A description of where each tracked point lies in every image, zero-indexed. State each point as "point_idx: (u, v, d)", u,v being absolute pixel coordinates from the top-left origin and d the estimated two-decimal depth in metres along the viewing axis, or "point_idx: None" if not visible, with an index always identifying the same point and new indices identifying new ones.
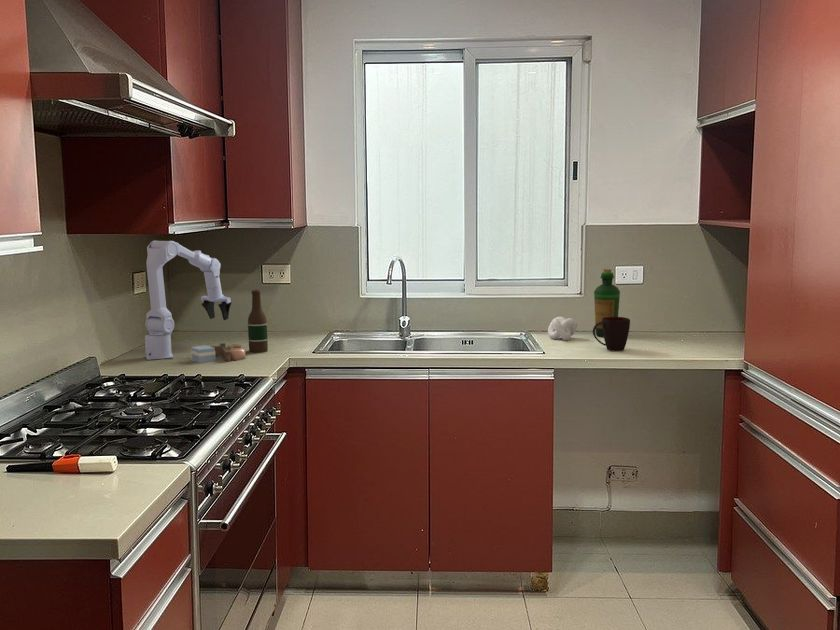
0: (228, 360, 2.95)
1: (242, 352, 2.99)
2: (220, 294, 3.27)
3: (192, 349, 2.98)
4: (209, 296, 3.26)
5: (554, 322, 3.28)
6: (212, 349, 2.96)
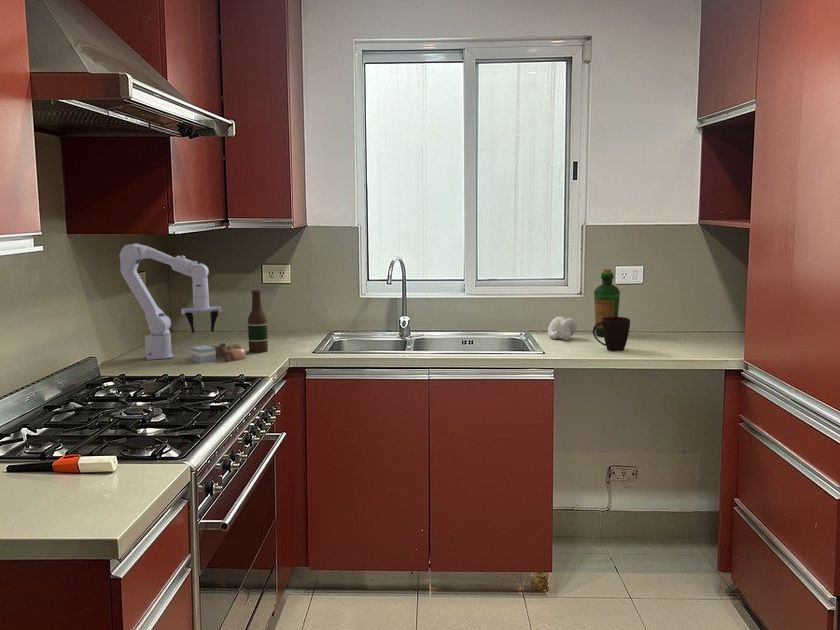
0: (228, 360, 2.95)
1: (242, 352, 2.99)
2: (193, 305, 3.02)
3: (192, 349, 2.98)
4: None
5: (554, 322, 3.28)
6: (212, 349, 2.96)
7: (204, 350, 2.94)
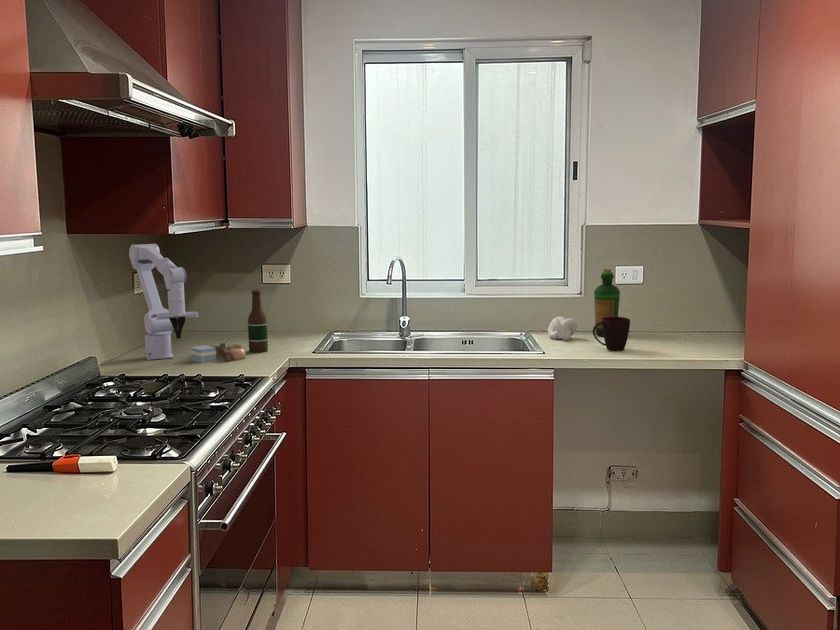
0: (228, 360, 2.95)
1: (242, 352, 2.99)
2: (168, 310, 2.91)
3: (192, 349, 2.98)
4: None
5: (554, 322, 3.28)
6: (213, 349, 2.96)
7: (205, 350, 2.94)
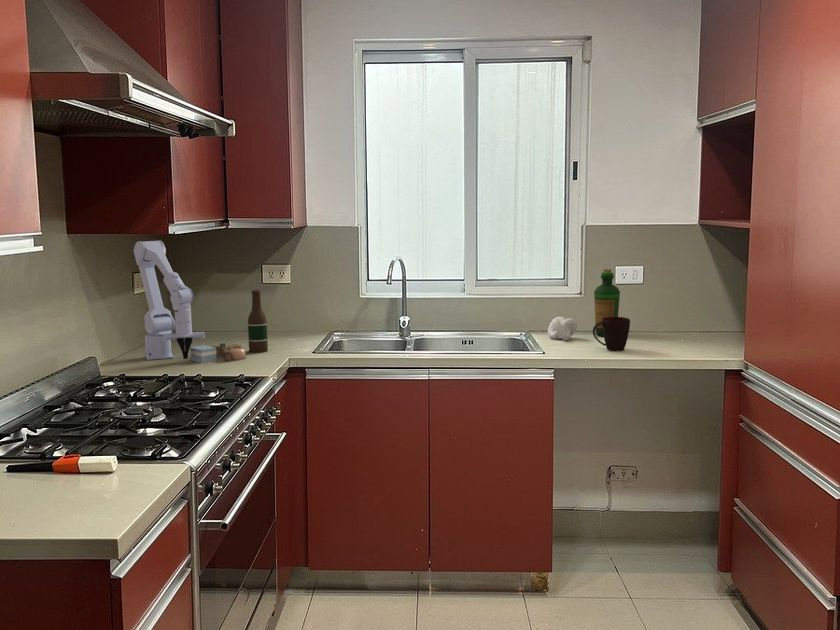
0: (228, 360, 2.95)
1: (242, 352, 2.99)
2: (176, 331, 2.93)
3: (191, 349, 2.97)
4: None
5: (554, 322, 3.28)
6: (213, 349, 2.96)
7: (205, 350, 2.94)
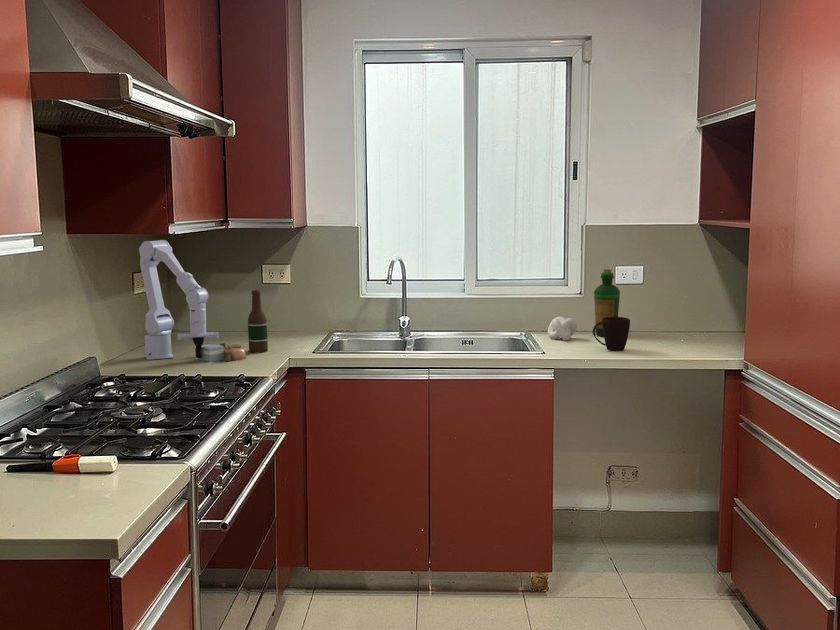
0: (228, 360, 2.95)
1: (242, 352, 2.99)
2: (190, 330, 2.95)
3: None
4: None
5: (554, 322, 3.28)
6: (221, 347, 2.98)
7: (213, 348, 2.96)
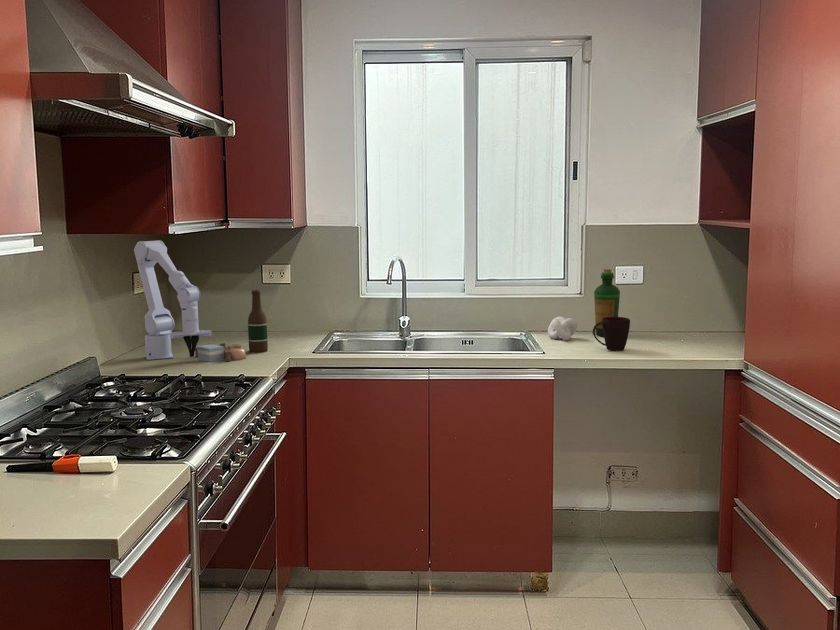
0: (228, 360, 2.95)
1: (242, 352, 2.99)
2: None
3: (199, 348, 2.99)
4: None
5: (554, 322, 3.28)
6: (221, 348, 2.98)
7: (213, 349, 2.96)
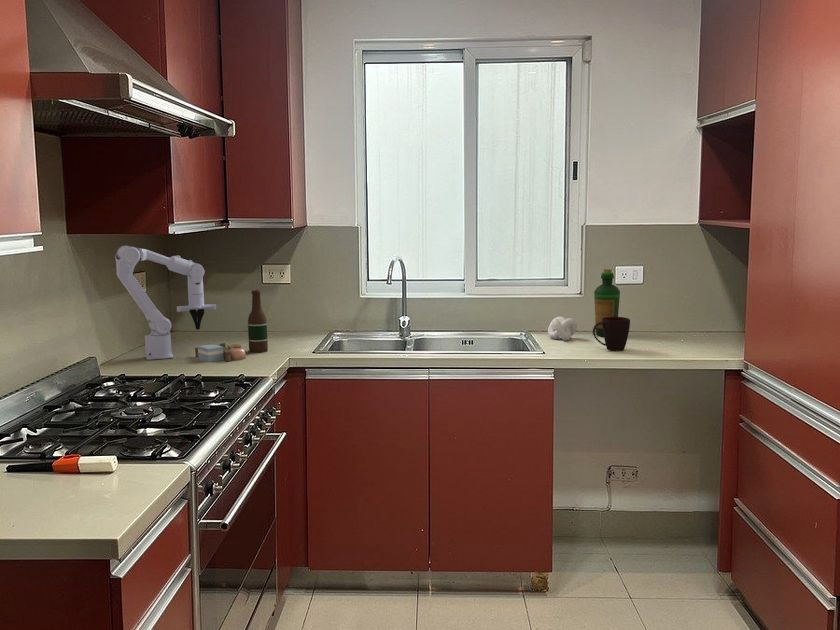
0: (228, 360, 2.95)
1: (242, 352, 2.99)
2: None
3: (199, 348, 3.00)
4: None
5: (554, 322, 3.28)
6: (220, 348, 2.98)
7: (212, 349, 2.96)
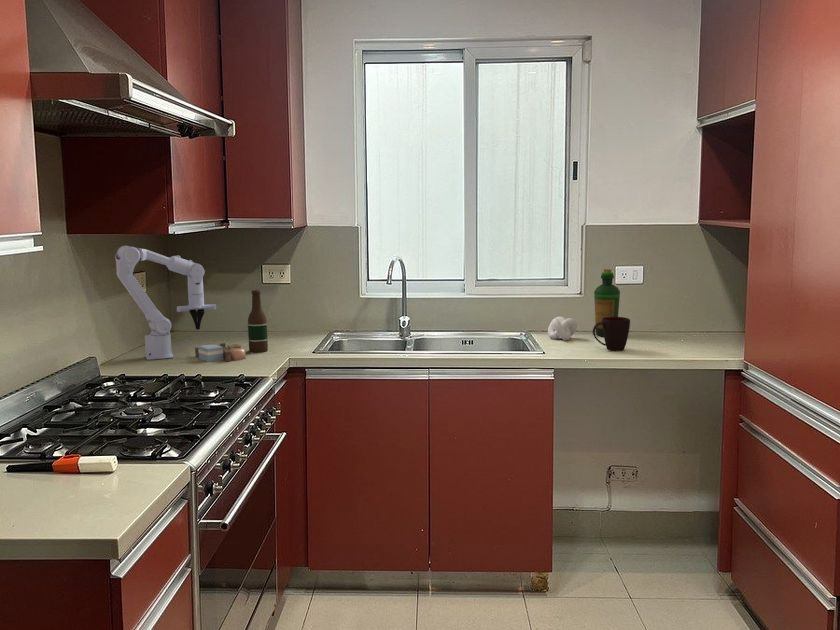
0: (228, 360, 2.95)
1: (242, 352, 2.99)
2: None
3: (200, 348, 3.00)
4: None
5: (554, 322, 3.28)
6: (220, 348, 2.98)
7: (212, 349, 2.96)
